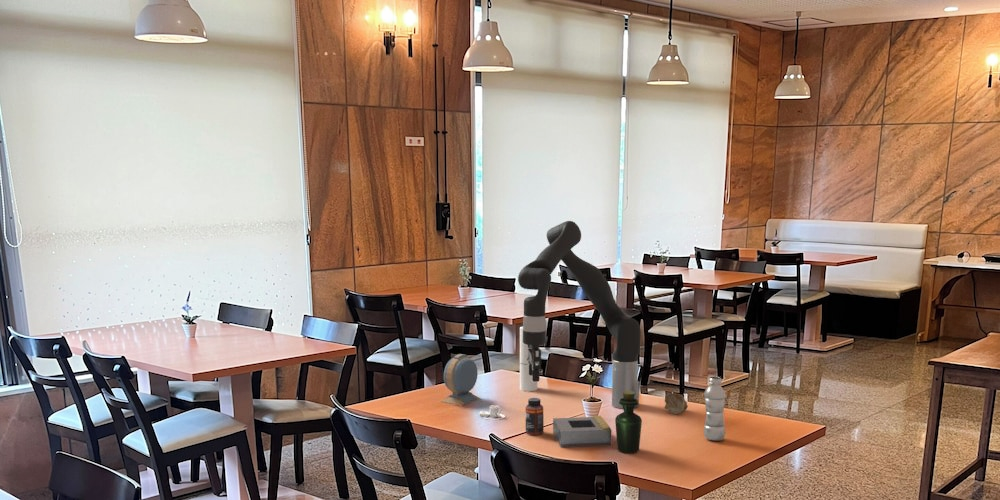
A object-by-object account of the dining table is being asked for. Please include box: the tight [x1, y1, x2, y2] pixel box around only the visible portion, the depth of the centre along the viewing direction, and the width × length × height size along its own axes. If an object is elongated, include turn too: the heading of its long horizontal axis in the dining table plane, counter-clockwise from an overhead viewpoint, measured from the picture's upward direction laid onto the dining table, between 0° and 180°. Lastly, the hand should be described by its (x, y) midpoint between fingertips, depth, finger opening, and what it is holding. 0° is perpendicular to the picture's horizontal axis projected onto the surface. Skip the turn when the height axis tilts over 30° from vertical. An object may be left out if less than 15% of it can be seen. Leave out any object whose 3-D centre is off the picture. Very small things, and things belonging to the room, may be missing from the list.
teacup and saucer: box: [479, 404, 506, 421], centre depth 271 cm, size 9×8×4 cm
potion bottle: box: [614, 391, 643, 455], centre depth 234 cm, size 8×8×18 cm
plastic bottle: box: [703, 376, 726, 442], centre depth 244 cm, size 6×7×20 cm
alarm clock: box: [440, 353, 481, 406], centre depth 292 cm, size 14×10×18 cm
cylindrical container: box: [519, 326, 538, 392], centre depth 308 cm, size 7×7×25 cm
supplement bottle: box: [525, 397, 545, 436], centre depth 252 cm, size 6×6×11 cm
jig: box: [552, 415, 613, 448], centre depth 245 cm, size 16×14×6 cm
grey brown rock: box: [664, 392, 689, 415], centre depth 276 cm, size 9×7×8 cm
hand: (534, 378), depth 251 cm, fingers open, 8 cm apart
